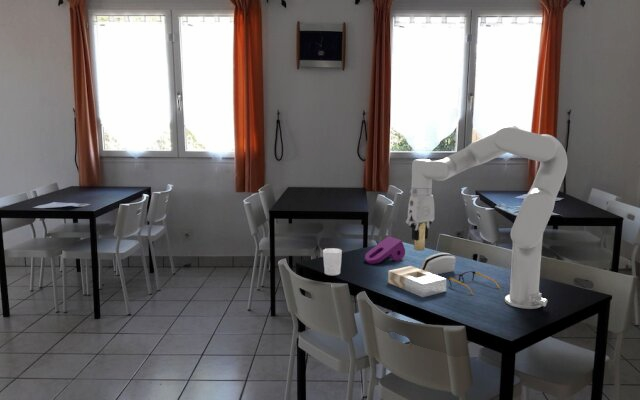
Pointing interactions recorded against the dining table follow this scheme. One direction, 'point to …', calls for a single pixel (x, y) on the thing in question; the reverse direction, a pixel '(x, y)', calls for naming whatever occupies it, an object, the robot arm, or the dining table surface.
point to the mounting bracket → (386, 251)
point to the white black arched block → (439, 263)
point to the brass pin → (420, 237)
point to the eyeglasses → (472, 279)
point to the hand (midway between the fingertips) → (419, 238)
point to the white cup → (332, 261)
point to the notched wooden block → (403, 275)
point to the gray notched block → (425, 284)
